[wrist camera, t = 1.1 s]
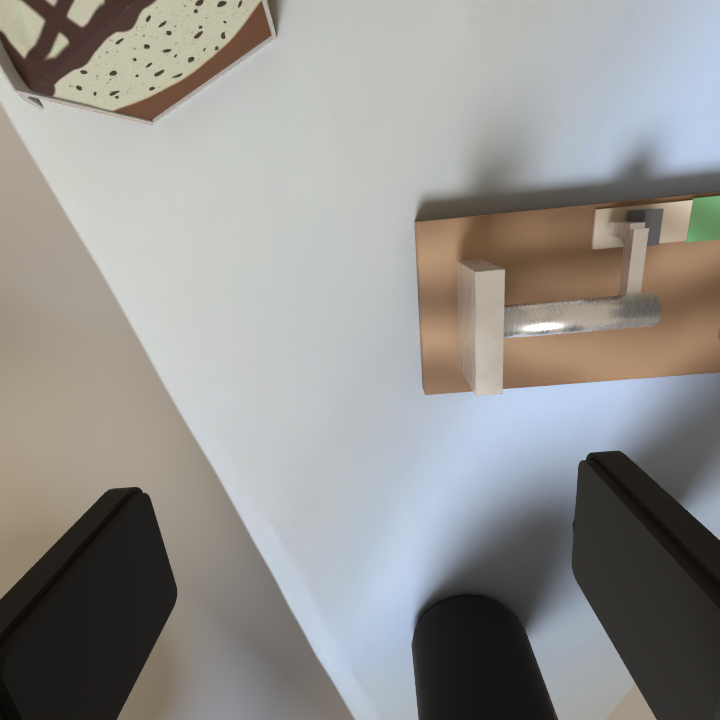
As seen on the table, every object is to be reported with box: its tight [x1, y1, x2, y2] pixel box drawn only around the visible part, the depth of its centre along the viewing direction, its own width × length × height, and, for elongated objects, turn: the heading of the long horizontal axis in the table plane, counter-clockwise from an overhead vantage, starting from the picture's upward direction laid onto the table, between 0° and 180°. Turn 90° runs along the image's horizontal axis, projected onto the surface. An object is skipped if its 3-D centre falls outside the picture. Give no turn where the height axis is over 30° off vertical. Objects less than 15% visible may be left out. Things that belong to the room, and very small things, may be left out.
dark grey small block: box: [624, 209, 664, 246], centre depth 25 cm, size 2×1×2 cm, turn 5°
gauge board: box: [415, 191, 720, 395], centre depth 25 cm, size 12×24×10 cm, turn 96°
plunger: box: [457, 221, 662, 396], centre depth 25 cm, size 8×11×5 cm
